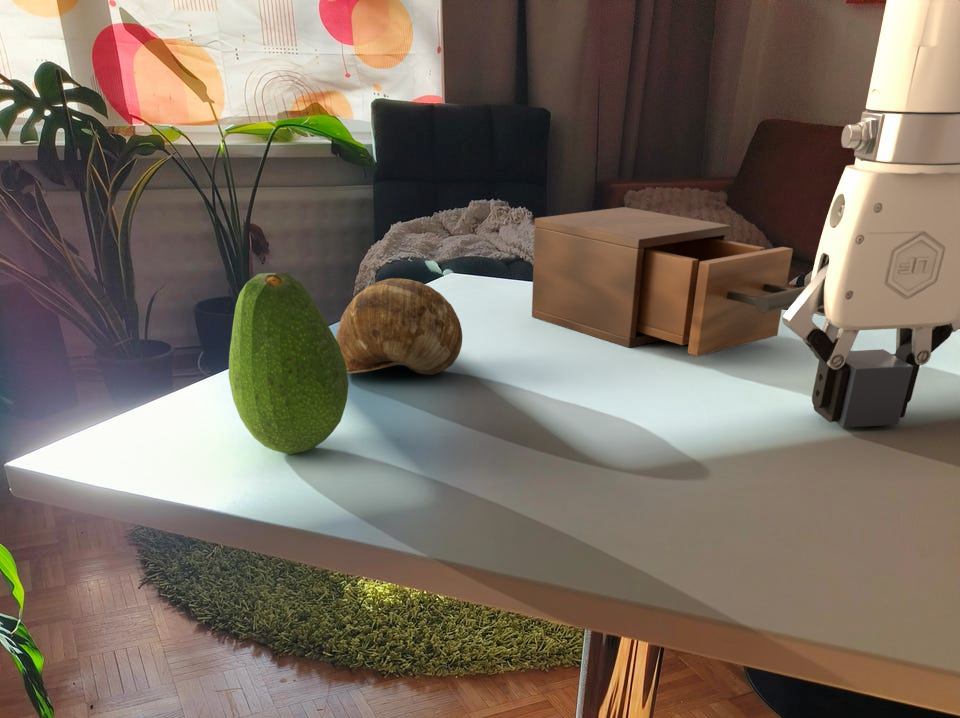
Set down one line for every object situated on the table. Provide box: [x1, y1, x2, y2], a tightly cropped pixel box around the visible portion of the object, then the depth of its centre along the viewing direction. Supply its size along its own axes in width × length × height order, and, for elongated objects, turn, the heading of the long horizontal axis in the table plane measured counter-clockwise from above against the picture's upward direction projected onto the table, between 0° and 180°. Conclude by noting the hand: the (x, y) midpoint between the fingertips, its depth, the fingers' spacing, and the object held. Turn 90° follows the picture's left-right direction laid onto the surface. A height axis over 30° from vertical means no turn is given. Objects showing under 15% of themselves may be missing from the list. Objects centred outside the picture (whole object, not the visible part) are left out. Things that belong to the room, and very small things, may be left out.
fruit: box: [228, 272, 349, 455], centre depth 60 cm, size 8×8×12 cm
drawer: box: [636, 237, 808, 357], centre depth 83 cm, size 18×11×8 cm, turn 37°
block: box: [835, 348, 913, 429], centre depth 67 cm, size 4×4×4 cm
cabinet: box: [531, 206, 732, 348], centre depth 90 cm, size 15×13×10 cm
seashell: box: [335, 277, 463, 376], centre depth 76 cm, size 11×9×8 cm
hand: (858, 411), depth 68 cm, fingers closed on block, 4 cm apart
